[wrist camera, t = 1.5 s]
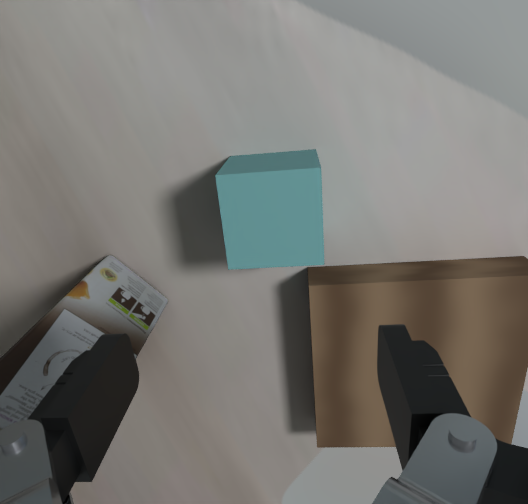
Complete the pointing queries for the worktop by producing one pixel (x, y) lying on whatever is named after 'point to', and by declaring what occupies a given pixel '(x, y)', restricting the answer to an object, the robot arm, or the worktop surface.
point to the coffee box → (76, 334)
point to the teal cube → (272, 209)
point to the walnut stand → (419, 328)
